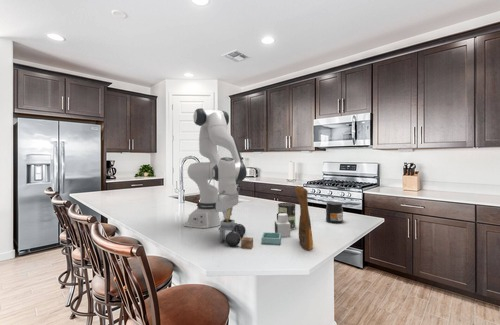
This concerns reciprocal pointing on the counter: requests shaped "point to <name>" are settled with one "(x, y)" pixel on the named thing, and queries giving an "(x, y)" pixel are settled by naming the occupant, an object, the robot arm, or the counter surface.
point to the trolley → (234, 235)
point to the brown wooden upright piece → (304, 220)
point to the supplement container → (334, 212)
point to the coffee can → (288, 212)
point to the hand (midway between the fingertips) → (227, 216)
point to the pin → (228, 216)
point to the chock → (247, 242)
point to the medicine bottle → (282, 224)
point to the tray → (271, 238)
